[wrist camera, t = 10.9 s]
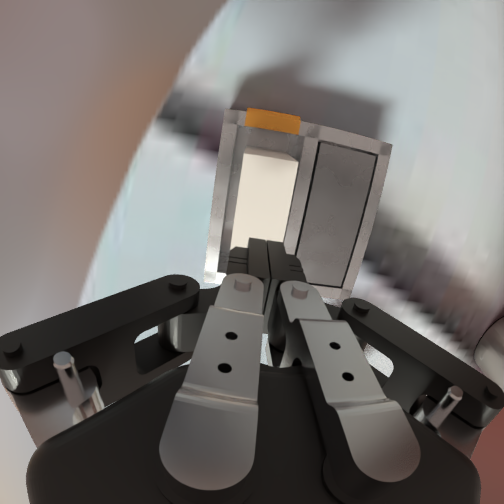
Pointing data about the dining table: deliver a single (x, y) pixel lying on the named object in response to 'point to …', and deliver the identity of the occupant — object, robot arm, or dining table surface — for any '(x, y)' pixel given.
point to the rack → (304, 195)
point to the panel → (263, 195)
